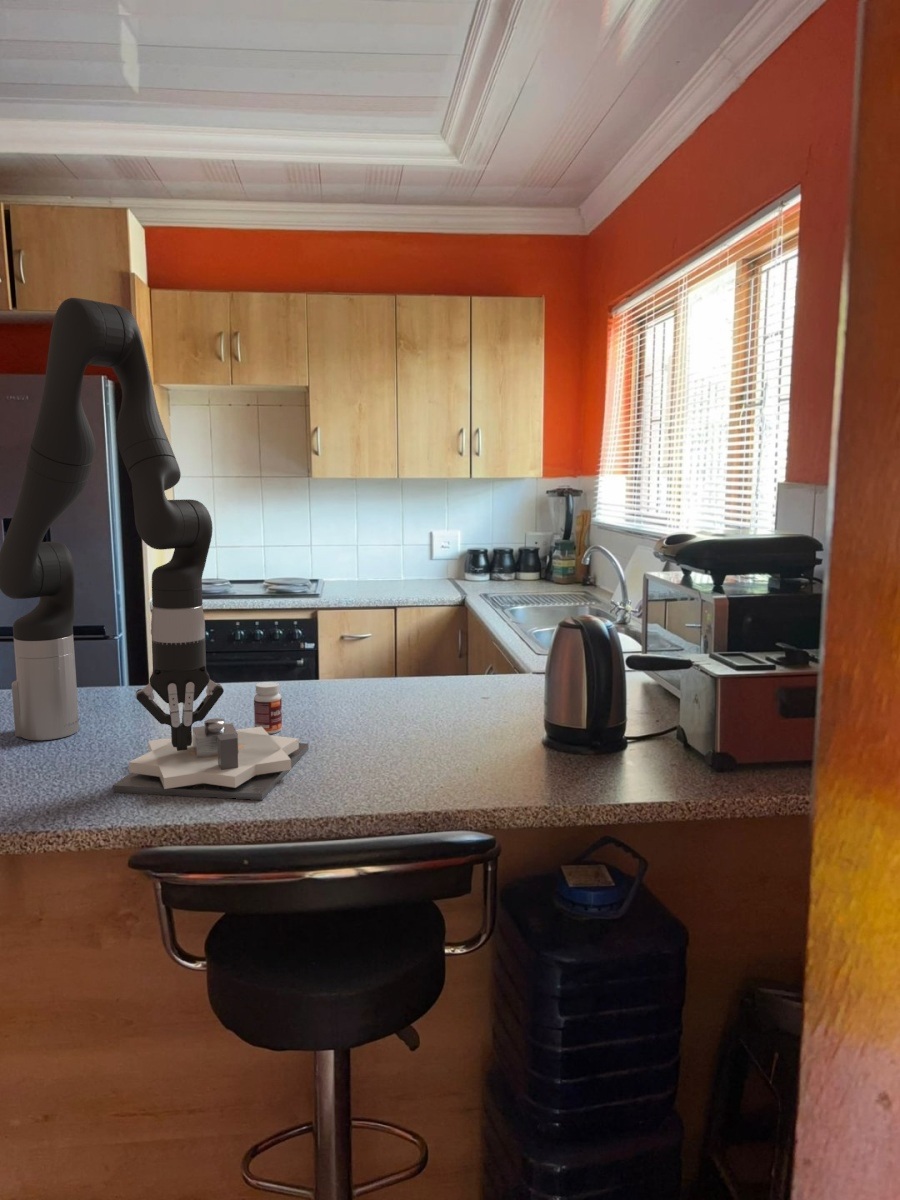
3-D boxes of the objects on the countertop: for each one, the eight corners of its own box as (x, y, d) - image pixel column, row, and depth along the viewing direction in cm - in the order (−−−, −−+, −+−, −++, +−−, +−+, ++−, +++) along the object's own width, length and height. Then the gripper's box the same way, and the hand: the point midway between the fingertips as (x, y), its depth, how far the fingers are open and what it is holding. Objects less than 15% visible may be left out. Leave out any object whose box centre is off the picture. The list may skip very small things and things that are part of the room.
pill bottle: (275, 735, 145) (274, 688, 144) (250, 733, 146) (248, 686, 144) (286, 727, 149) (285, 681, 148) (261, 725, 150) (260, 680, 149)
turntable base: (113, 792, 119) (112, 785, 118) (181, 743, 140) (181, 737, 140) (262, 800, 116) (261, 793, 116) (308, 749, 137) (308, 743, 137)
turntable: (121, 746, 134) (119, 710, 133) (278, 726, 145) (277, 693, 144) (138, 802, 111) (136, 759, 110) (323, 773, 122) (322, 734, 121)
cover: (197, 758, 124) (196, 728, 123) (193, 746, 129) (192, 718, 128) (238, 753, 126) (237, 724, 125) (232, 741, 131) (232, 714, 131)
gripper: (131, 643, 117) (135, 761, 119) (227, 638, 122) (230, 751, 124) (129, 633, 124) (134, 746, 126) (221, 629, 129) (223, 737, 131)
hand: (182, 748), depth 125 cm, fingers closed
